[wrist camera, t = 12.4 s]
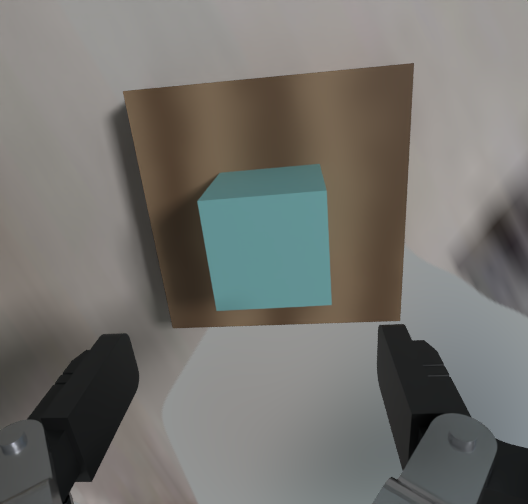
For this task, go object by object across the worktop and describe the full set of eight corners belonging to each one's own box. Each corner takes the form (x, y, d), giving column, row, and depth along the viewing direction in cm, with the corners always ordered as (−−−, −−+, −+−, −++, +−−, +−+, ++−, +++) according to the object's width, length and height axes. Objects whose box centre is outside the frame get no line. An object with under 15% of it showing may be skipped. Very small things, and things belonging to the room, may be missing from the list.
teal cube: (233, 262, 27) (216, 311, 21) (219, 172, 24) (197, 201, 19) (324, 256, 26) (331, 305, 21) (319, 163, 24) (326, 190, 18)
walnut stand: (183, 306, 32) (172, 328, 29) (141, 89, 26) (122, 91, 23) (390, 298, 30) (400, 320, 27) (400, 64, 24) (413, 63, 21)
